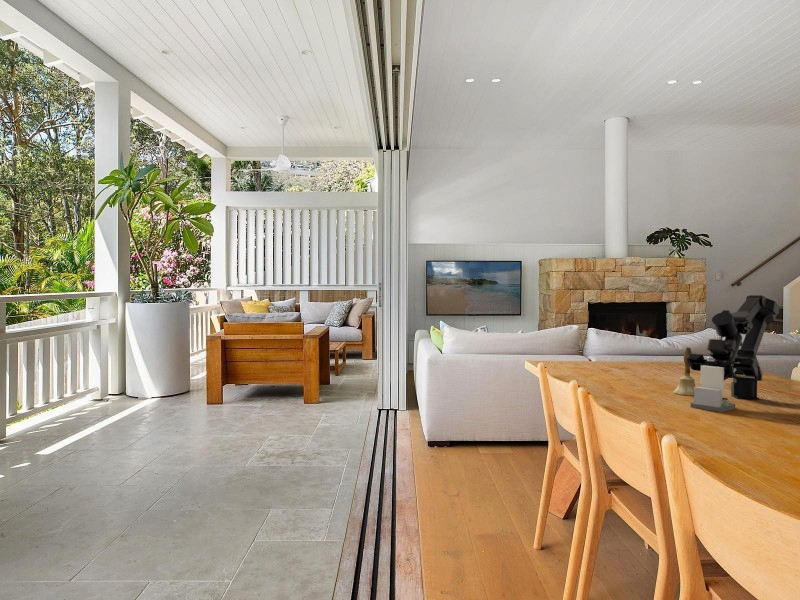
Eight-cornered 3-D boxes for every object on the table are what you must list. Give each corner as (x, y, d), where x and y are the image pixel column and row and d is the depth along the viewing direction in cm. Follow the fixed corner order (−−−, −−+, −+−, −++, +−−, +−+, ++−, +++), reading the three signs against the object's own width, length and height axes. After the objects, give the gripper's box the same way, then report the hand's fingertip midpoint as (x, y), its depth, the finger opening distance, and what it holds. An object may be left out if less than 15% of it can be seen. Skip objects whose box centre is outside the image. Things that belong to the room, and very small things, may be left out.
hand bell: (694, 391, 195) (694, 346, 195) (704, 396, 187) (705, 349, 187) (669, 391, 196) (670, 346, 196) (678, 395, 188) (679, 348, 188)
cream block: (697, 400, 172) (697, 364, 172) (728, 405, 165) (729, 368, 165) (695, 400, 171) (695, 365, 171) (726, 405, 164) (727, 368, 164)
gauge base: (703, 403, 175) (704, 383, 175) (735, 407, 168) (735, 387, 168) (690, 407, 169) (690, 386, 169) (722, 412, 162) (723, 390, 162)
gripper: (689, 328, 179) (673, 365, 172) (755, 331, 164) (740, 372, 158) (699, 351, 184) (684, 387, 177) (764, 356, 170) (750, 396, 163)
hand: (713, 385), depth 168 cm, fingers closed, pressing on cream block
